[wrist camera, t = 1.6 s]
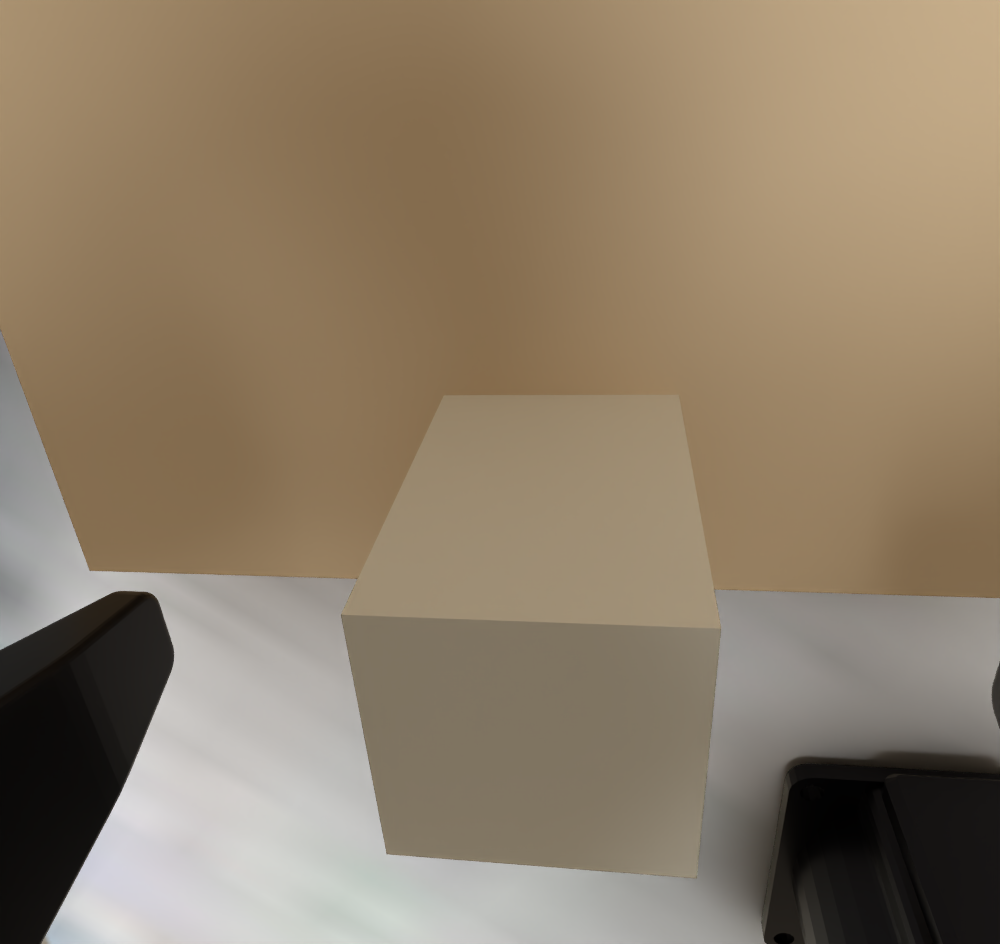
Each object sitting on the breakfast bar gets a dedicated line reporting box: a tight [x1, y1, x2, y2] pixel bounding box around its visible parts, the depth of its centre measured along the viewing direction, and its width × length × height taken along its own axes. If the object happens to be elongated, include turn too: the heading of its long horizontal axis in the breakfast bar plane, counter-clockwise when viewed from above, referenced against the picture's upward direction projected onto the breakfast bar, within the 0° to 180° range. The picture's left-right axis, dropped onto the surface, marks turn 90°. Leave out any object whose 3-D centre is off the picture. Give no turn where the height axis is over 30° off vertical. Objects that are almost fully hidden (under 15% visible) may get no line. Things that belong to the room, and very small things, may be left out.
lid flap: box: [0, 0, 1000, 878], centre depth 7 cm, size 12×15×5 cm
